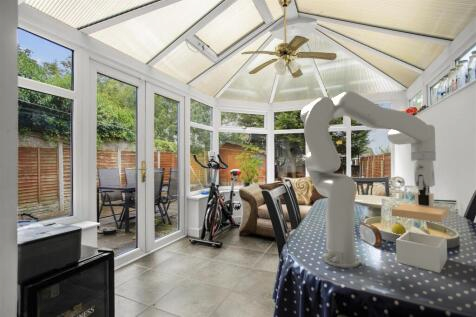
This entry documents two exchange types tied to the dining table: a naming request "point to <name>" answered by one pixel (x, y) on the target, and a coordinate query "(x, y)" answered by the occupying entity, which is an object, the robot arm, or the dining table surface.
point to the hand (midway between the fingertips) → (424, 204)
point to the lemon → (398, 229)
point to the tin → (370, 234)
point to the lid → (421, 210)
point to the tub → (422, 250)
